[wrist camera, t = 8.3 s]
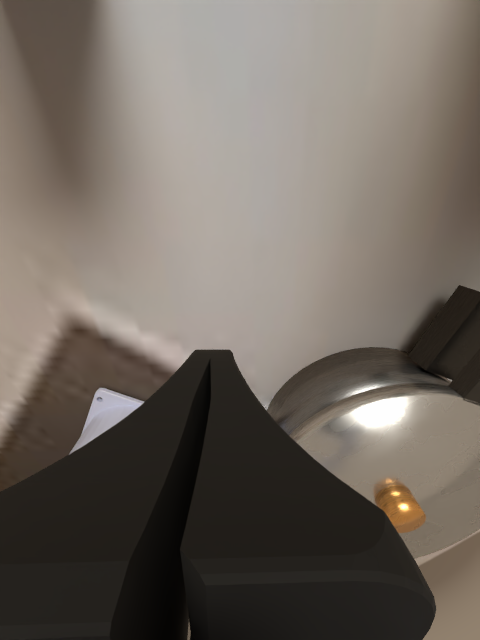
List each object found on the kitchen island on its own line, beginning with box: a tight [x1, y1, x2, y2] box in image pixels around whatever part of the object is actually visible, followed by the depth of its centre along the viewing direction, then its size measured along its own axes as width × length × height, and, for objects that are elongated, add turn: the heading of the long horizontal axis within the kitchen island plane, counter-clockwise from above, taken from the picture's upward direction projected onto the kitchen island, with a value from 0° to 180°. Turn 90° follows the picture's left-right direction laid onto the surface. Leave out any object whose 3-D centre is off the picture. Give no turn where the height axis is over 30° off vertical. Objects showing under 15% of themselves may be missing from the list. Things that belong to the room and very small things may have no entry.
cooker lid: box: [289, 349, 480, 559], centre depth 17 cm, size 25×18×3 cm
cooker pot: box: [267, 285, 480, 435], centre depth 21 cm, size 24×18×5 cm
